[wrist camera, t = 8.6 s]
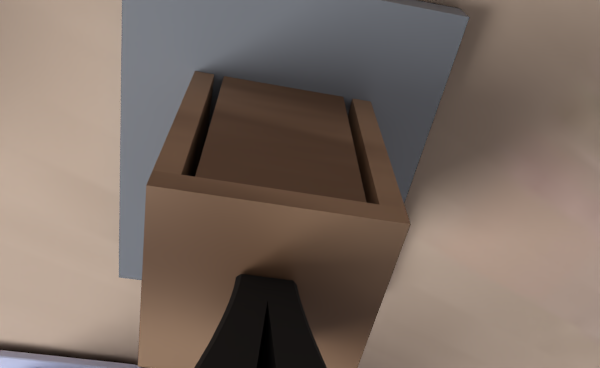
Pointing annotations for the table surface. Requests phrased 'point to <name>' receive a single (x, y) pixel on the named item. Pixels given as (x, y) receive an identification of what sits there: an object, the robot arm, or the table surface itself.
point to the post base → (278, 73)
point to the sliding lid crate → (268, 216)
